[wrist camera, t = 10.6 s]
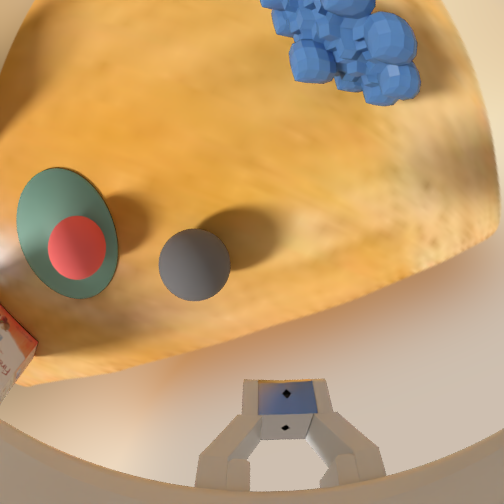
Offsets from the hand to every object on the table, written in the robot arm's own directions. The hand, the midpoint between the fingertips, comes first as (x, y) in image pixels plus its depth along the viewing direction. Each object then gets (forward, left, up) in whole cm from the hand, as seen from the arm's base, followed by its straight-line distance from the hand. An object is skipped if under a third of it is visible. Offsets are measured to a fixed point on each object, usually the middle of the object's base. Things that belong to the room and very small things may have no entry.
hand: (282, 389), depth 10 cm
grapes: (-15, +3, -15) cm, 21 cm away
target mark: (0, -20, -15) cm, 25 cm away
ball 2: (+1, -6, -12) cm, 14 cm away
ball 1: (0, -16, -12) cm, 21 cm away
